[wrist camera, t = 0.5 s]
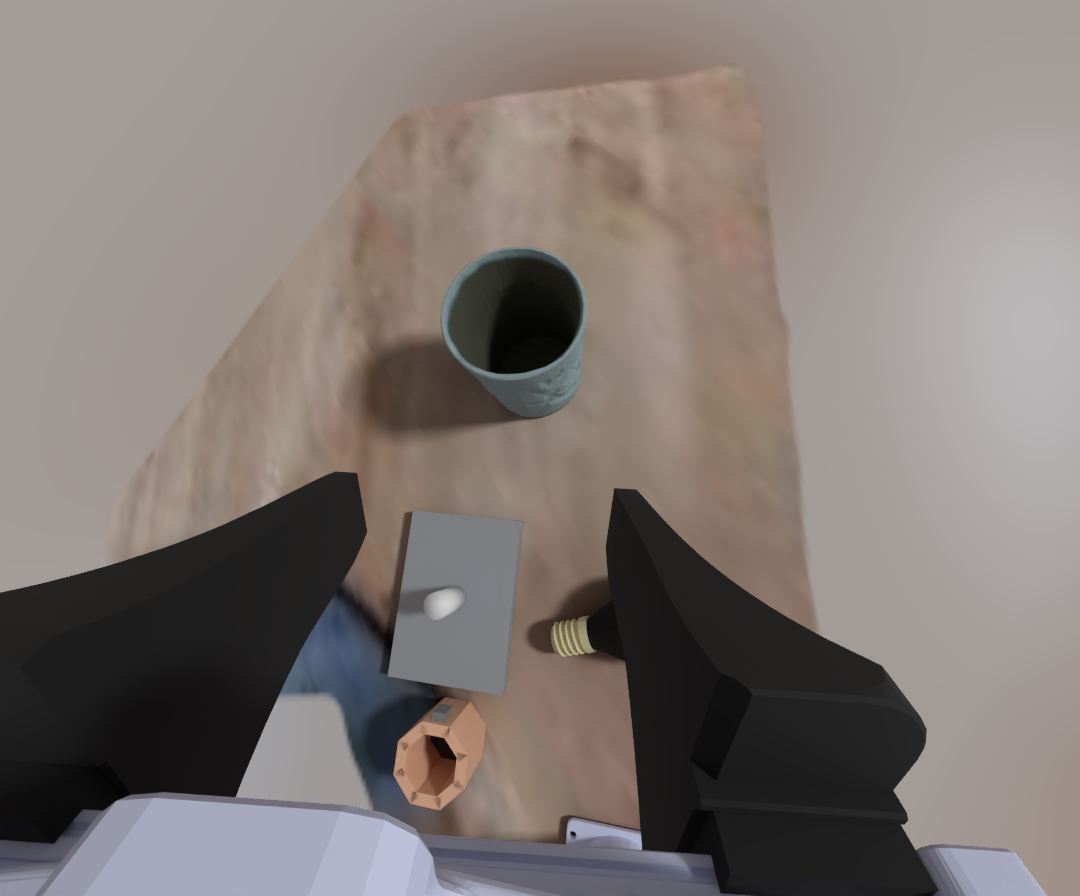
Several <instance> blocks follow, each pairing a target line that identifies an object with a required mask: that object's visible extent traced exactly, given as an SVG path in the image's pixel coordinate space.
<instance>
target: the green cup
mask: <svg viewBox="0 0 1080 896" xmlns="http://www.w3.org/2000/svg"><path fill="white" fill-rule="evenodd" d="M586 316H587V301H586V295H585V291H584V289H583V286H582V283H581V281H580V280H579V278H578V276H577V275H576V273H575V272H574V271H573V270H572V268H571V267H570V266H569V265H568V264H566V263H565V262H564V261H563V260H562V259H560V258H559V257H557V256H555V255H553V254H551V253H550V252H548V251H544V250H541V249H537V248H532V247H513V248H502V249H499V250H496V251H493V252H489V253H487V254H485V255H483V256H481V257H479V258H477V259H476V260H474V261H473V262H472V263H470V264H469V265H467V266H466V267H465V268H464V269H463V270H462V271H461V272H460V273H459V274H458V276H457V277H456V278H455V279H454V281H453V282H452V284H451V285H450V287H449V289H448V291H447V293H446V296H445V298H444V301H443V305H442V311H441V330H442V334H443V338H444V341H445V343H446V345H447V347H448V349H449V351H450V352H451V353H452V355H453V356H454V358H455V359H456V360H457V361H458V362H459V363H460V364H461V365H462V366H463V367H465V368H466V369H467V370H468V371H469V372H470V373H471V374H472V375H474V377H475V378H476V379H477V380H478V381H480V382H481V383H482V385H483V386H484V387H485V388H486V389H487V390H488V391H489V392H490V393H491V394H492V395H493V396H495V397H496V399H497V400H498V401H499V402H500V403H501V404H502V405H504V406H505V407H506V408H507V409H508V410H510V411H512V412H513V413H515V414H517V415H520V416H524V417H530V418H534V417H543V416H547V415H550V414H553V413H555V412H557V411H559V410H560V409H562V408H563V407H564V406H565V405H567V404H568V402H569V401H570V400H571V399H572V398H573V396H574V394H575V393H576V391H577V389H578V386H579V382H580V377H581V365H582V363H581V362H582V351H583V339H584V332H585V323H586Z"/></svg>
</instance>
